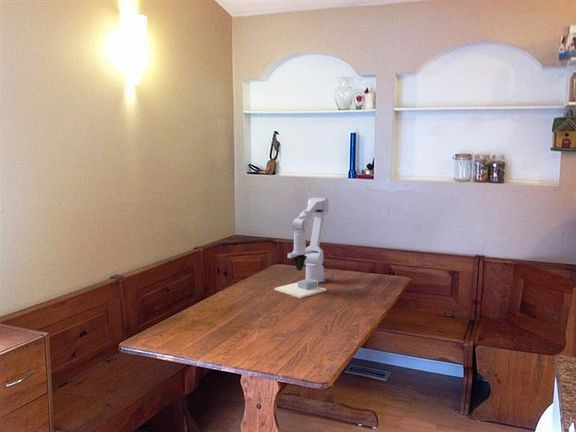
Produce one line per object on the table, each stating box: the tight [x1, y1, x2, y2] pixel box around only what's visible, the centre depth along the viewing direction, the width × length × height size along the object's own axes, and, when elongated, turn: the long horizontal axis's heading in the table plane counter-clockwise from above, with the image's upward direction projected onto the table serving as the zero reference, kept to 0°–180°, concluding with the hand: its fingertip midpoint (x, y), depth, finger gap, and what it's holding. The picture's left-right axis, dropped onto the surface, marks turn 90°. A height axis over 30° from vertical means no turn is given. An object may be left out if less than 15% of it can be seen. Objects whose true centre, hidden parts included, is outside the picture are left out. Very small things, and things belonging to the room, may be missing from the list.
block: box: [297, 278, 319, 290], centre depth 261 cm, size 3×6×8 cm
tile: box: [274, 281, 327, 299], centre depth 259 cm, size 18×18×1 cm
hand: (299, 270), depth 259 cm, fingers closed
